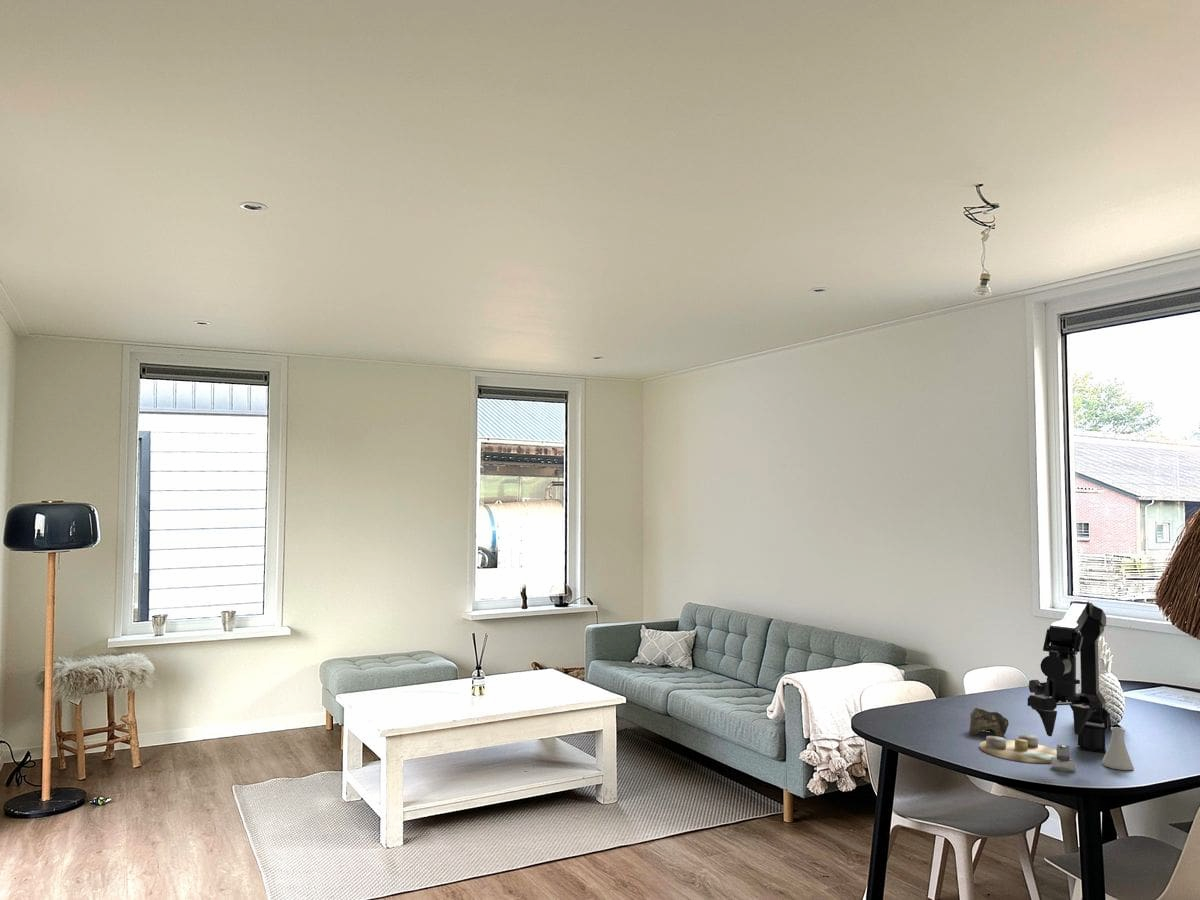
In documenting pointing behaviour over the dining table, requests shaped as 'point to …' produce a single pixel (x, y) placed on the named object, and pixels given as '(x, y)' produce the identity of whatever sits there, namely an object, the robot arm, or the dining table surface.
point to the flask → (1117, 752)
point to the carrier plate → (1017, 753)
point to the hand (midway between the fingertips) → (1063, 735)
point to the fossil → (988, 722)
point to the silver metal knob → (1063, 759)
